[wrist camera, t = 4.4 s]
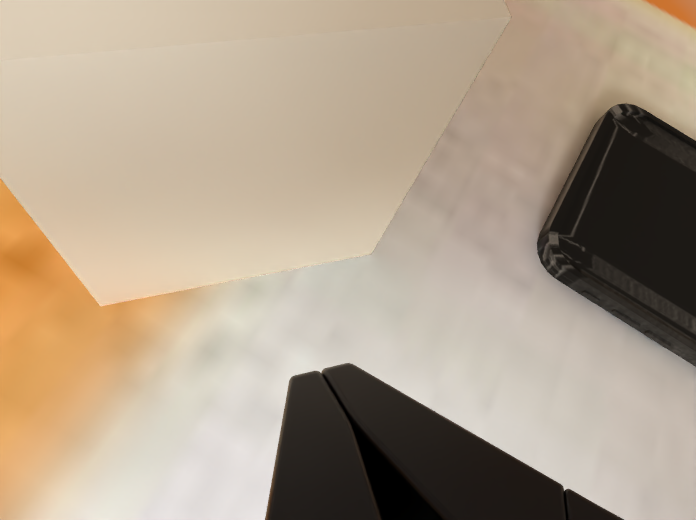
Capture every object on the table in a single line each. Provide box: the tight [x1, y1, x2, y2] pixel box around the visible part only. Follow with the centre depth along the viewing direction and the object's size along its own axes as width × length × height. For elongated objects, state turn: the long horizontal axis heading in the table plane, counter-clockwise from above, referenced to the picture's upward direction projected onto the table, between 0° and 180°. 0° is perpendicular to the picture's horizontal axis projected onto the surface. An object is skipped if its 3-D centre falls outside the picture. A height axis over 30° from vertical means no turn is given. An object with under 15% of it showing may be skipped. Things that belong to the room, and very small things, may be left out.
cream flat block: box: [0, 0, 511, 306], centre depth 13 cm, size 3×8×10 cm, turn 105°
